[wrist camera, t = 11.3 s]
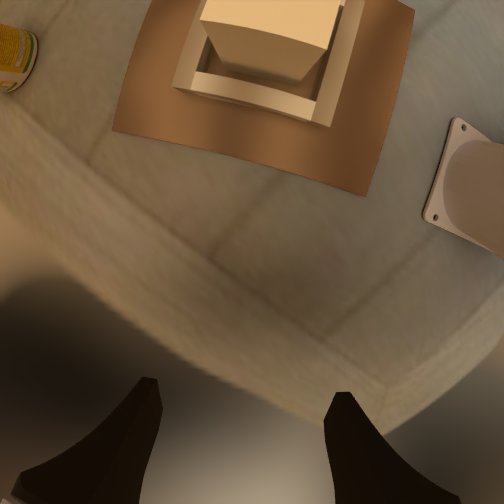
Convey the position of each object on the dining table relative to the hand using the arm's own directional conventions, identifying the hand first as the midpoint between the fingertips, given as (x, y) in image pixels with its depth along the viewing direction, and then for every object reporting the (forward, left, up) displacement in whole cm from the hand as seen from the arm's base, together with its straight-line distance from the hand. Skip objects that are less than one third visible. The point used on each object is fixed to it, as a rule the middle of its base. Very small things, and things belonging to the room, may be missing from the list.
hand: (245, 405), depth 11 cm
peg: (+3, -15, -9) cm, 18 cm away
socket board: (+3, -15, -10) cm, 19 cm away
